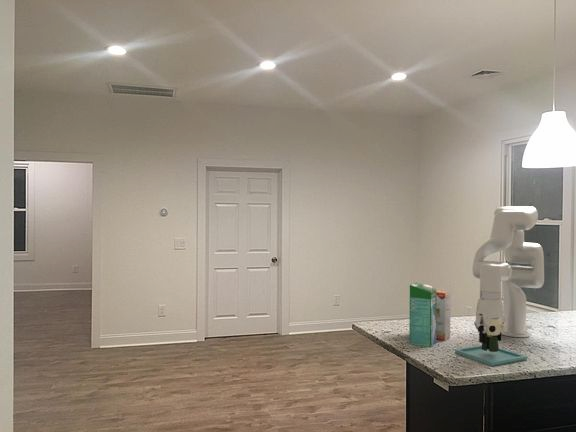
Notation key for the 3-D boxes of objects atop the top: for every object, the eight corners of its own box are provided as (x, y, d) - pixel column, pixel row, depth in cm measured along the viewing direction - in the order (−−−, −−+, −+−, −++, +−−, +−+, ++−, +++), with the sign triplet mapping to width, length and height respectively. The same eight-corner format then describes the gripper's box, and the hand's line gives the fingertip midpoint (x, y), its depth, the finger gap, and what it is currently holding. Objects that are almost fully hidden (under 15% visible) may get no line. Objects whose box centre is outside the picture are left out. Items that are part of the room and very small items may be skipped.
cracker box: (415, 335, 210) (415, 289, 210) (421, 333, 214) (421, 287, 214) (444, 341, 200) (445, 292, 200) (450, 338, 205) (450, 291, 205)
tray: (487, 348, 190) (487, 344, 190) (526, 360, 174) (526, 356, 174) (454, 353, 182) (454, 349, 182) (492, 366, 166) (492, 362, 166)
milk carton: (430, 347, 191) (431, 286, 191) (409, 343, 196) (409, 284, 196) (436, 342, 198) (436, 283, 199) (415, 339, 203) (415, 282, 203)
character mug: (472, 350, 179) (472, 316, 179) (478, 346, 184) (478, 313, 184) (502, 355, 172) (502, 321, 172) (507, 351, 177) (507, 317, 177)
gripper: (498, 292, 185) (497, 336, 185) (466, 295, 178) (466, 341, 178) (514, 295, 178) (514, 341, 178) (481, 298, 171) (481, 346, 171)
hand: (490, 341), depth 178 cm, fingers closed on character mug, 7 cm apart
